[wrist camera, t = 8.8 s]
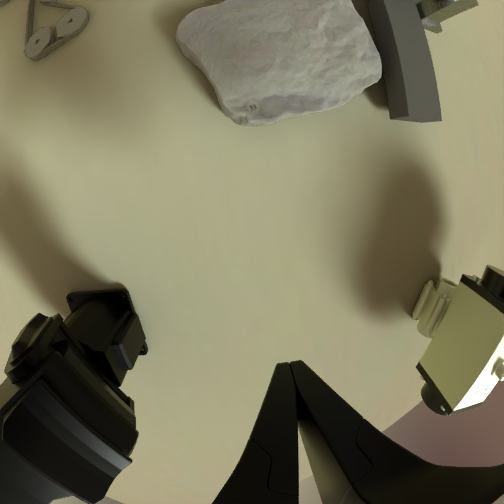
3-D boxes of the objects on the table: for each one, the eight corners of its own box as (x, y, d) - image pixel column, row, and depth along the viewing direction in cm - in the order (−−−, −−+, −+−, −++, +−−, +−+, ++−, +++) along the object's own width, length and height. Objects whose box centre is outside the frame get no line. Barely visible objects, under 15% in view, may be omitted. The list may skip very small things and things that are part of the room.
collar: (390, 119, 16) (436, 112, 11) (353, -33, 11) (378, -65, 6) (421, 122, 16) (469, 119, 11) (385, -25, 11) (414, -52, 6)
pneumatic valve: (387, 348, 24) (443, 438, 13) (435, 237, 20) (536, 298, 9) (424, 348, 25) (480, 423, 13) (469, 249, 21) (555, 304, 10)
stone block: (369, 86, 18) (313, -17, 13) (403, 86, 14) (336, -39, 9) (238, 144, 20) (172, 38, 15) (243, 156, 16) (159, 21, 11)
